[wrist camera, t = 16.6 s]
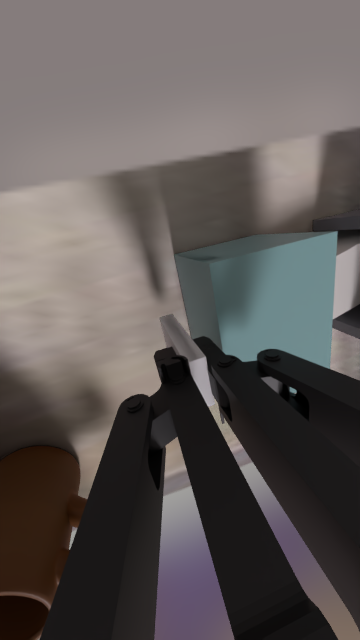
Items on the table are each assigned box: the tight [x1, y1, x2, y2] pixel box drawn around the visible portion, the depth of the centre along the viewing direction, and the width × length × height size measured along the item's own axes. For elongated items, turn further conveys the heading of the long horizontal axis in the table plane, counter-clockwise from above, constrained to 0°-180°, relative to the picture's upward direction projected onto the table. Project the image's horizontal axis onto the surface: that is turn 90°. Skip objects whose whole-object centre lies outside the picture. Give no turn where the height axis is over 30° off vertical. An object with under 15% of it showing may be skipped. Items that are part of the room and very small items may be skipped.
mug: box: [0, 446, 87, 640], centre depth 17 cm, size 12×8×9 cm, turn 95°
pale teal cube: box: [174, 231, 338, 393], centre depth 16 cm, size 7×9×8 cm
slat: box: [333, 229, 360, 319], centre depth 19 cm, size 12×5×4 cm, turn 116°
